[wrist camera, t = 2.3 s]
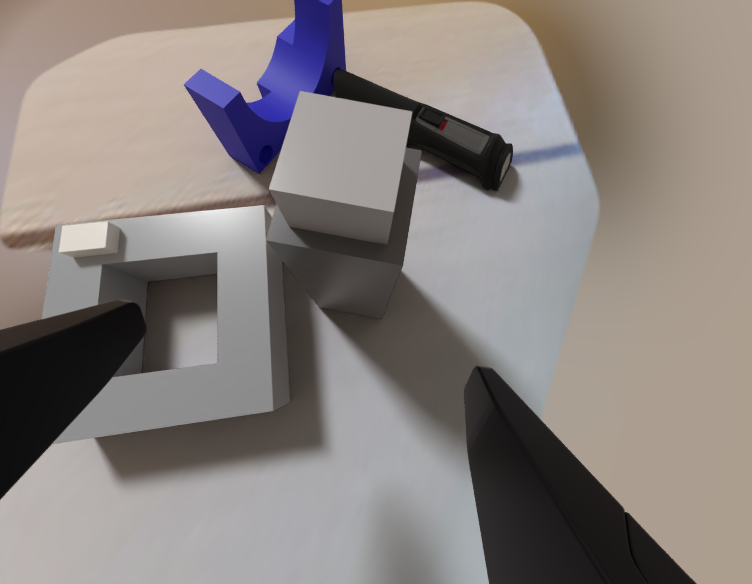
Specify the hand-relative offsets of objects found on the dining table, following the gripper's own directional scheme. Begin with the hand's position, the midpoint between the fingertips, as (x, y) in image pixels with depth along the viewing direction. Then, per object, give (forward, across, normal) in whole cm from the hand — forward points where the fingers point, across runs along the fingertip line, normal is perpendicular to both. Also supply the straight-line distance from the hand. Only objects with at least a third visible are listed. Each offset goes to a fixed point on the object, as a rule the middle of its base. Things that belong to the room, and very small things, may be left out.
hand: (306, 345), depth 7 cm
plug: (+12, 0, +5) cm, 13 cm away
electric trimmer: (+22, -3, -4) cm, 22 cm away
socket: (+8, +10, +8) cm, 15 cm away
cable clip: (+22, +9, -5) cm, 24 cm away
